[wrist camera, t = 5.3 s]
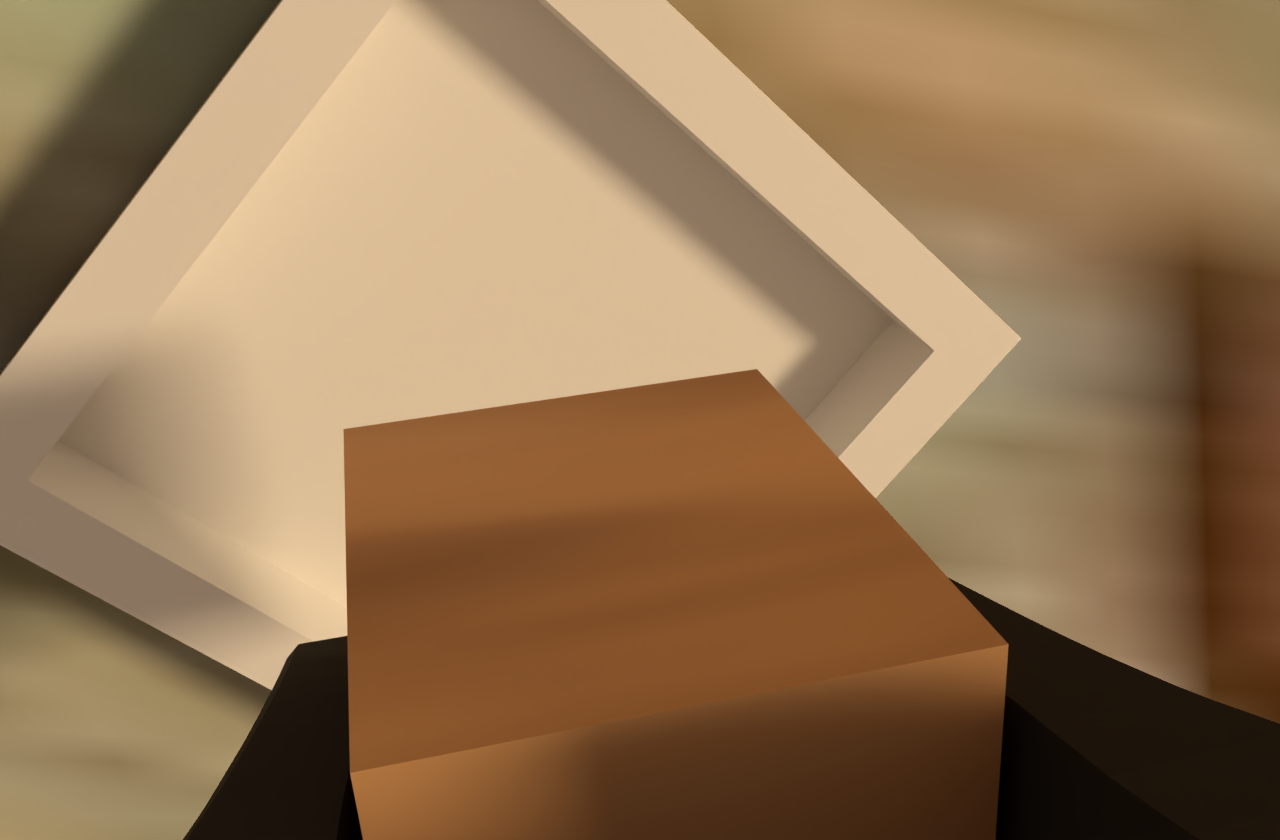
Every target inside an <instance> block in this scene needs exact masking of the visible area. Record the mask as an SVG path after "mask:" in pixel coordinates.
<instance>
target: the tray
mask: <svg viewBox="0 0 1280 840" xmlns="http://www.w3.org/2000/svg"><path fill="white" fill-rule="evenodd" d="M1020 339H1021V338H1020V337H1019V336H1018V335H1017V334H1016V333H1015V332H1014V331H1013V330H1012V329H1011V328H1010V327H1009V326H1008V325H1007V324H1006V323H1005V322H1003V321H1002V320H1001V319H1000V318H999V317H998V316H997V315H996V314H995V313H994V312H993V311H992V310H991V309H990V308H989V307H988V306H987V305H986V304H985V303H984V302H982V301H981V300H980V299H979V298H978V297H977V296H976V295H975V294H974V293H973V292H972V291H971V290H970V289H969V288H968V287H967V286H966V285H965V284H964V283H963V282H961V281H960V280H959V279H958V278H957V277H956V276H955V275H954V274H953V273H952V272H951V271H950V270H949V269H948V268H947V267H946V266H945V265H944V264H943V263H942V262H940V261H939V260H938V259H937V258H936V257H935V256H934V255H933V254H932V253H931V252H930V251H929V250H928V249H927V248H926V247H925V246H924V245H923V244H922V243H921V242H919V241H918V240H917V239H916V238H915V237H914V236H913V235H912V234H911V233H910V232H909V231H908V230H907V229H906V228H905V227H904V226H903V225H902V224H901V223H900V222H898V221H897V220H896V219H895V218H894V217H893V216H892V215H891V214H890V213H889V212H888V211H887V210H886V209H885V208H884V207H883V206H882V205H881V204H880V203H879V202H877V201H876V200H875V199H874V198H873V197H872V196H871V195H870V194H869V193H868V192H867V191H866V190H865V189H864V188H863V187H862V186H861V185H860V184H859V183H858V182H856V181H855V180H854V179H853V178H852V177H851V176H850V175H849V174H848V173H847V172H846V171H845V170H844V169H843V168H842V167H841V166H840V165H839V164H838V163H837V162H835V161H834V160H833V159H832V158H831V157H830V156H829V155H828V154H827V153H826V152H825V151H824V150H823V149H822V148H821V147H820V146H819V145H818V144H817V143H816V142H814V141H813V140H812V139H811V138H810V137H809V136H808V135H807V134H806V133H805V132H804V131H803V130H802V129H801V128H800V127H799V126H798V125H797V124H796V123H795V122H793V121H792V120H791V119H790V118H789V117H788V116H787V115H786V114H785V113H784V112H783V111H782V110H781V109H780V108H779V107H778V106H777V105H776V104H775V103H773V102H772V101H771V100H770V99H769V98H768V97H767V96H766V95H765V94H764V93H763V92H762V91H761V90H760V89H759V88H758V87H757V86H756V85H755V84H754V83H752V82H751V81H750V80H749V79H748V78H747V77H746V76H745V75H744V74H743V73H742V72H741V71H740V70H739V69H738V68H737V67H736V66H735V65H734V64H733V63H731V62H730V61H729V60H728V59H727V58H726V57H725V56H724V55H723V54H722V53H721V52H720V51H719V50H718V49H717V48H716V47H715V46H714V45H713V44H712V43H710V42H709V41H708V40H707V39H706V38H705V37H704V36H703V35H702V34H701V33H700V32H699V31H698V30H697V29H696V28H695V27H694V26H693V25H692V24H691V23H689V22H688V21H687V20H686V19H685V18H684V17H683V16H682V15H681V14H680V13H679V12H678V11H677V10H676V9H675V8H674V7H673V6H672V5H671V4H670V3H668V2H667V1H666V0H281V1H280V2H279V3H278V5H277V6H276V7H275V9H274V10H273V11H272V13H271V14H270V15H269V17H268V18H267V19H266V21H265V22H264V23H263V25H262V26H261V27H260V29H259V30H258V31H257V33H256V34H255V35H254V37H253V38H252V39H251V41H250V42H249V43H248V45H247V46H246V47H245V49H244V50H243V51H242V53H241V54H240V55H239V57H238V58H237V59H236V61H235V62H234V63H233V65H232V66H231V67H230V69H229V70H228V71H227V73H226V74H225V75H224V77H223V78H222V79H221V81H220V82H219V83H218V85H217V86H216V87H215V89H214V90H213V91H212V93H211V94H210V95H209V97H208V98H207V99H206V101H205V102H204V103H203V105H202V106H201V107H200V109H199V110H198V111H197V113H196V114H195V115H194V117H193V118H192V119H191V121H190V122H189V123H188V125H187V126H186V127H185V129H184V130H183V131H182V133H181V134H180V135H179V137H178V138H177V139H176V141H175V142H174V143H173V145H172V146H171V147H170V149H169V150H168V151H167V153H166V154H165V155H164V157H163V158H162V159H161V160H160V162H159V163H158V164H157V166H156V167H155V168H154V170H153V171H152V172H151V174H150V175H149V176H148V178H147V179H146V180H145V182H144V183H143V184H142V186H141V187H140V188H139V190H138V191H137V192H136V194H135V195H134V196H133V198H132V199H131V200H130V202H129V203H128V204H127V206H126V207H125V208H124V210H123V211H122V212H121V214H120V215H119V216H118V218H117V219H116V220H115V222H114V223H113V224H112V226H111V227H110V228H109V230H108V231H107V232H106V234H105V235H104V236H103V238H102V239H101V240H100V242H99V243H98V244H97V246H96V247H95V248H94V250H93V251H92V252H91V254H90V255H89V256H88V258H87V259H86V260H85V262H84V263H83V264H82V266H81V267H80V268H79V270H78V271H77V272H76V274H75V275H74V276H73V278H72V279H71V280H70V282H69V283H68V284H67V286H66V287H65V288H64V290H63V291H62V292H61V294H60V295H59V296H58V298H57V299H56V300H55V302H54V303H53V304H52V306H51V307H50V308H49V310H48V311H47V312H46V314H45V315H44V316H43V318H42V319H41V320H40V322H39V323H38V324H37V326H36V327H35V328H34V330H33V331H32V332H31V334H30V335H29V336H28V338H27V339H26V340H25V342H24V343H23V344H22V346H21V347H20V348H19V350H18V351H17V352H16V354H15V355H14V356H13V358H12V359H11V360H10V362H9V363H8V364H7V366H6V367H5V368H4V370H3V371H2V372H1V374H0V545H1V546H3V547H5V548H6V549H8V550H10V551H12V552H14V553H16V554H18V555H19V556H21V557H23V558H25V559H27V560H29V561H31V562H33V563H34V564H36V565H38V566H40V567H42V568H44V569H46V570H48V571H49V572H51V573H53V574H55V575H57V576H59V577H61V578H63V579H64V580H66V581H68V582H70V583H72V584H74V585H76V586H77V587H79V588H81V589H83V590H85V591H87V592H89V593H91V594H92V595H94V596H96V597H98V598H100V599H102V600H104V601H106V602H107V603H109V604H111V605H113V606H115V607H117V608H119V609H121V610H122V611H124V612H126V613H128V614H130V615H132V616H134V617H135V618H137V619H139V620H141V621H143V622H145V623H147V624H149V625H150V626H152V627H154V628H156V629H158V630H160V631H162V632H164V633H165V634H167V635H169V636H171V637H173V638H175V639H177V640H178V641H180V642H182V643H184V644H186V645H188V646H190V647H192V648H193V649H195V650H197V651H199V652H201V653H203V654H205V655H207V656H208V657H210V658H212V659H214V660H216V661H218V662H220V663H222V664H223V665H225V666H227V667H229V668H231V669H233V670H235V671H236V672H238V673H240V674H242V675H244V676H246V677H248V678H250V679H251V680H253V681H255V682H257V683H259V684H261V685H263V686H265V687H266V688H268V689H270V690H272V689H273V687H274V685H275V683H276V681H277V679H278V677H279V675H280V673H281V670H282V668H283V666H284V664H285V662H286V659H287V657H288V656H289V655H290V654H291V653H292V651H293V650H294V649H295V648H296V647H297V645H298V644H302V643H308V642H313V641H319V640H325V639H331V638H337V637H343V636H347V590H346V537H345V484H344V431H343V429H347V428H354V427H361V426H368V425H375V424H381V423H388V422H395V421H402V420H409V419H416V418H423V417H430V416H437V415H443V414H450V413H457V412H464V411H471V410H478V409H485V408H492V407H499V406H505V405H512V404H519V403H526V402H533V401H540V400H547V399H554V398H561V397H567V396H574V395H581V394H588V393H595V392H602V391H609V390H616V389H623V388H629V387H636V386H643V385H650V384H657V383H664V382H671V381H678V380H685V379H691V378H698V377H705V376H712V375H719V374H726V373H733V372H740V371H747V370H753V369H758V371H759V372H760V373H761V374H762V375H763V376H764V377H765V378H766V379H767V380H768V381H769V383H770V384H771V385H772V386H773V387H774V388H775V389H776V390H777V391H778V392H779V394H780V395H781V396H782V397H783V398H784V399H785V400H786V401H787V402H788V403H789V404H790V406H791V407H792V408H793V409H794V410H795V411H796V412H797V413H798V414H799V415H800V416H801V418H802V419H803V420H804V421H805V422H806V423H807V424H808V425H809V426H810V427H811V429H812V430H813V431H814V432H815V433H816V434H817V435H818V436H819V437H820V438H821V439H822V441H823V442H824V443H825V444H826V445H827V446H828V447H829V448H830V449H831V450H832V452H833V453H834V454H835V455H836V456H837V457H838V458H839V459H840V460H841V461H842V462H843V464H844V465H845V466H846V467H847V468H848V469H849V470H850V471H851V472H852V473H853V475H854V476H855V477H856V478H857V479H858V480H859V481H860V482H861V483H862V484H863V485H864V487H865V488H866V489H867V490H868V491H869V492H870V493H871V494H872V495H873V496H874V497H875V498H876V497H877V496H878V495H879V494H880V493H881V492H882V490H883V489H884V488H885V487H886V486H887V485H888V484H889V483H890V482H891V481H892V479H893V478H894V477H895V476H896V475H897V474H898V473H899V472H900V471H901V470H902V469H903V467H904V466H905V465H906V464H907V463H908V462H909V461H910V460H911V459H912V458H913V457H914V455H915V454H916V453H917V452H918V451H919V450H920V449H921V448H922V447H923V446H924V444H925V443H926V442H927V441H928V440H929V439H930V438H931V437H932V436H933V435H934V434H935V432H936V431H937V430H938V429H939V428H940V427H941V426H942V425H943V424H944V423H945V421H946V420H947V419H948V418H949V417H950V416H951V415H952V414H953V413H954V412H955V411H956V409H957V408H958V407H959V406H960V405H961V404H962V403H963V402H964V401H965V400H966V399H967V397H968V396H969V395H970V394H971V393H972V392H973V391H974V390H975V389H976V388H977V386H978V385H979V384H980V383H981V382H982V381H983V380H984V379H985V378H986V377H987V376H988V374H989V373H990V372H991V371H992V370H993V369H994V368H995V367H996V366H997V365H998V364H999V362H1000V361H1001V360H1002V359H1003V358H1004V357H1005V356H1006V355H1007V354H1008V353H1009V351H1010V350H1011V349H1012V348H1013V347H1014V346H1015V345H1016V344H1017V343H1018V342H1019V341H1020Z"/></svg>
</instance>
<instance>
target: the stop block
mask: <svg viewBox="0 0 1280 840" xmlns="http://www.w3.org/2000/svg"><path fill="white" fill-rule="evenodd" d="M343 431H344V484H345V537H346V590H347V643H348V695H349V749H350V776H351V781H352V786H353V791H354V796H355V801H356V806H357V811H358V816H359V821H360V827H361V832H362V837H363V840H995V838H996V823H997V808H998V793H999V779H1000V764H1001V749H1002V734H1003V720H1004V705H1005V690H1006V675H1007V661H1008V646H1009V644H1008V643H1007V642H1006V641H1005V640H1004V639H1003V638H1002V636H1001V635H1000V634H999V633H998V632H997V631H996V630H995V629H994V628H993V627H992V626H991V624H990V623H989V622H988V621H987V620H986V619H985V618H984V617H983V616H982V615H981V613H980V612H979V611H978V610H977V609H976V608H975V607H974V606H973V605H972V604H971V603H970V601H969V600H968V599H967V598H966V597H965V596H964V595H963V594H962V593H961V592H960V591H959V589H958V588H957V587H956V586H955V585H954V584H953V583H952V582H951V581H950V580H949V578H948V577H947V576H946V575H945V574H944V573H943V572H942V571H941V570H940V569H939V568H938V566H937V565H936V564H935V563H934V562H933V561H932V560H931V559H930V558H929V557H928V555H927V554H926V553H925V552H924V551H923V550H922V549H921V548H920V547H919V546H918V545H917V543H916V542H915V541H914V540H913V539H912V538H911V537H910V536H909V535H908V534H907V533H906V531H905V530H904V529H903V528H902V527H901V526H900V525H899V524H898V523H897V522H896V520H895V519H894V518H893V517H892V516H891V515H890V514H889V513H888V512H887V511H886V510H885V508H884V507H883V506H882V505H881V504H880V503H879V502H878V501H877V500H876V499H875V497H874V496H873V495H872V494H871V493H870V492H869V491H868V490H867V489H866V488H865V487H864V485H863V484H862V483H861V482H860V481H859V480H858V479H857V478H856V477H855V476H854V475H853V473H852V472H851V471H850V470H849V469H848V468H847V467H846V466H845V465H844V464H843V462H842V461H841V460H840V459H839V458H838V457H837V456H836V455H835V454H834V453H833V452H832V450H831V449H830V448H829V447H828V446H827V445H826V444H825V443H824V442H823V441H822V439H821V438H820V437H819V436H818V435H817V434H816V433H815V432H814V431H813V430H812V429H811V427H810V426H809V425H808V424H807V423H806V422H805V421H804V420H803V419H802V418H801V416H800V415H799V414H798V413H797V412H796V411H795V410H794V409H793V408H792V407H791V406H790V404H789V403H788V402H787V401H786V400H785V399H784V398H783V397H782V396H781V395H780V394H779V392H778V391H777V390H776V389H775V388H774V387H773V386H772V385H771V384H770V383H769V381H768V380H767V379H766V378H765V377H764V376H763V375H762V374H761V373H760V372H759V371H758V369H753V370H747V371H740V372H733V373H726V374H719V375H712V376H705V377H698V378H691V379H685V380H678V381H671V382H664V383H657V384H650V385H643V386H636V387H629V388H623V389H616V390H609V391H602V392H595V393H588V394H581V395H574V396H567V397H561V398H554V399H547V400H540V401H533V402H526V403H519V404H512V405H505V406H499V407H492V408H485V409H478V410H471V411H464V412H457V413H450V414H443V415H437V416H430V417H423V418H416V419H409V420H402V421H395V422H388V423H381V424H375V425H368V426H361V427H354V428H347V429H343Z"/></svg>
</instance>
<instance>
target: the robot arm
mask: <svg viewBox="0 0 1280 840" xmlns="http://www.w3.org/2000/svg"><path fill="white" fill-rule="evenodd" d="M949 580H950V581H951V582H952V583H953V584H954V585H955V586H956V587H957V588H958V589H959V591H960V592H961V593H962V594H963V595H964V596H965V597H966V598H967V599H968V600H969V601H970V603H971V604H972V605H973V606H974V607H975V608H976V609H977V610H978V611H979V612H980V613H981V615H982V616H983V617H984V618H985V619H986V620H987V621H988V622H989V623H990V624H991V626H992V627H993V628H994V629H995V630H996V631H997V632H998V633H999V634H1000V635H1001V636H1002V638H1003V639H1004V640H1005V641H1006V642H1007V643H1008V644H1009V646H1008V661H1007V675H1006V690H1005V705H1004V720H1003V734H1002V749H1001V764H1000V779H999V793H998V808H997V823H996V838H995V840H1280V724H1279V723H1276V722H1273V721H1270V720H1267V719H1264V718H1262V717H1259V716H1256V715H1253V714H1250V713H1247V712H1245V711H1242V710H1239V709H1236V708H1233V707H1230V706H1228V705H1225V704H1222V703H1219V702H1216V701H1213V700H1211V699H1208V698H1206V697H1203V696H1201V695H1198V694H1195V693H1193V692H1190V691H1188V690H1185V689H1183V688H1180V687H1178V686H1175V685H1173V684H1170V683H1168V682H1166V681H1163V680H1161V679H1159V678H1156V677H1154V676H1152V675H1149V674H1147V673H1145V672H1143V671H1140V670H1138V669H1136V668H1133V667H1131V666H1129V665H1126V664H1124V663H1122V662H1119V661H1117V660H1115V659H1112V658H1110V657H1108V656H1106V655H1103V654H1101V653H1099V652H1097V651H1095V650H1093V649H1090V648H1088V647H1086V646H1084V645H1082V644H1080V643H1078V642H1075V641H1073V640H1071V639H1069V638H1067V637H1065V636H1063V635H1061V634H1059V633H1057V632H1055V631H1052V630H1050V629H1048V628H1046V627H1044V626H1042V625H1040V624H1038V623H1036V622H1034V621H1032V620H1030V619H1028V618H1026V617H1024V616H1022V615H1020V614H1018V613H1016V612H1014V611H1012V610H1010V609H1008V608H1006V607H1004V606H1002V605H1000V604H998V603H996V602H994V601H992V600H991V599H989V598H987V597H985V596H983V595H981V594H979V593H977V592H975V591H973V590H971V589H969V588H967V587H965V586H963V585H961V584H959V583H958V582H956V581H954V580H952V579H950V578H949ZM183 840H363V837H362V832H361V827H360V821H359V816H358V811H357V806H356V801H355V796H354V791H353V786H352V781H351V776H350V749H349V695H348V643H347V636H343V637H337V638H331V639H325V640H319V641H313V642H308V643H302V644H298V645H297V647H296V648H295V649H294V650H293V651H292V653H291V654H290V655H289V656H288V657H287V659H286V662H285V664H284V666H283V668H282V670H281V673H280V675H279V677H278V679H277V681H276V683H275V685H274V687H273V689H272V691H271V693H270V695H269V697H268V699H267V701H266V703H265V705H264V707H263V708H262V710H261V712H260V714H259V716H258V718H257V720H256V721H255V723H254V725H253V727H252V729H251V731H250V732H249V734H248V736H247V738H246V740H245V742H244V743H243V745H242V747H241V748H240V750H239V752H238V753H237V755H236V757H235V758H234V760H233V762H232V763H231V765H230V767H229V768H228V770H227V772H226V773H225V775H224V777H223V778H222V780H221V782H220V783H219V785H218V787H217V788H216V790H215V792H214V793H213V795H212V797H211V798H210V800H209V802H208V803H207V805H206V806H205V808H204V809H203V811H202V812H201V814H200V816H199V817H198V819H197V820H196V821H195V823H194V824H193V826H192V827H191V829H190V830H189V832H188V833H187V835H186V836H185V837H184V839H183Z"/></svg>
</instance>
